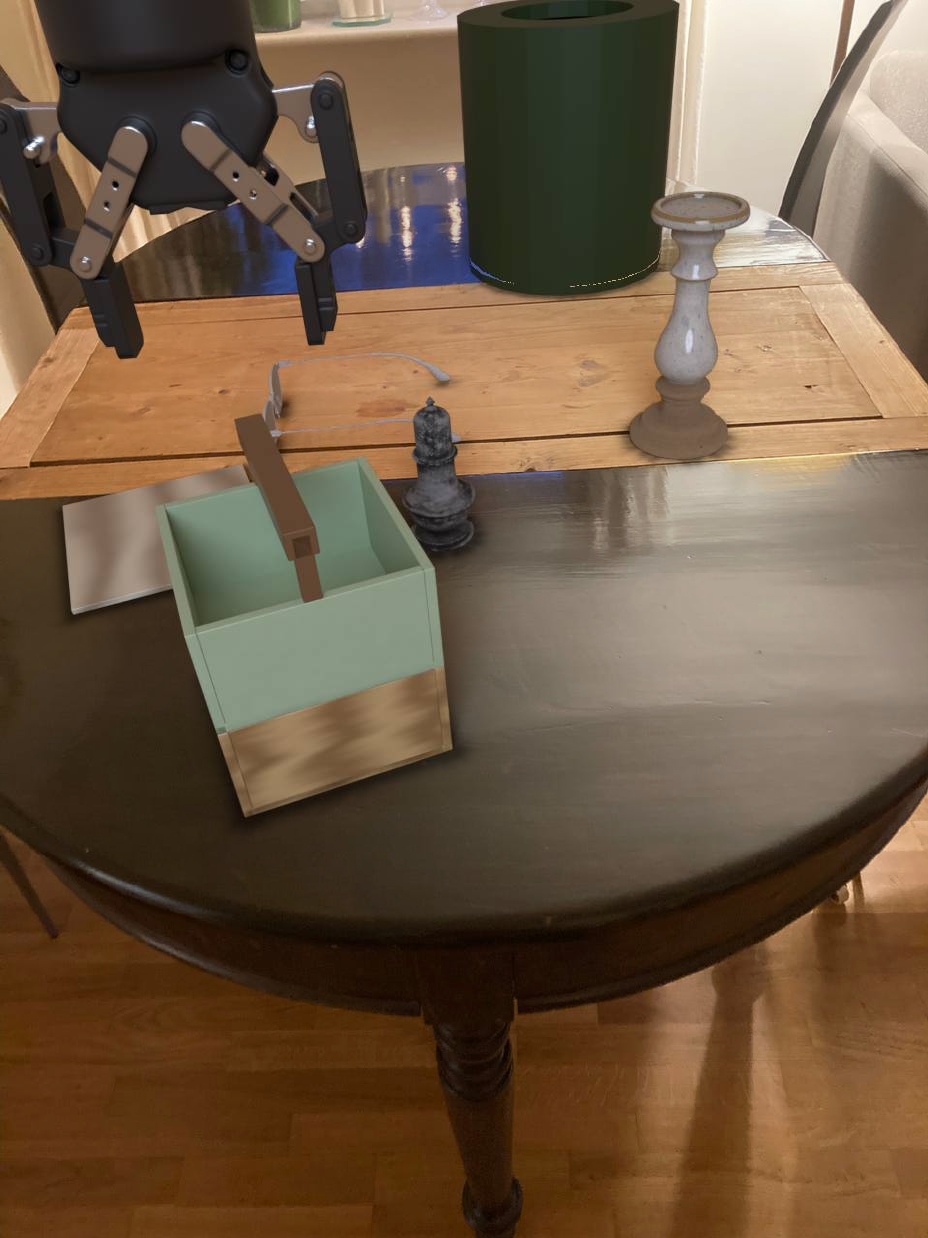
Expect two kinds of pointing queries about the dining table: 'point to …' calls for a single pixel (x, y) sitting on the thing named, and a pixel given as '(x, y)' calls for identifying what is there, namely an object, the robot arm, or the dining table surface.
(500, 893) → the dining table surface
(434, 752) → the brown wooden open box
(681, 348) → the candle holder
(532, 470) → the dining table surface
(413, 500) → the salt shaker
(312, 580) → the top basket
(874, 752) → the dining table surface
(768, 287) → the dining table surface
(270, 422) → the eyeglasses
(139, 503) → the placemat
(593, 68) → the flower pot
